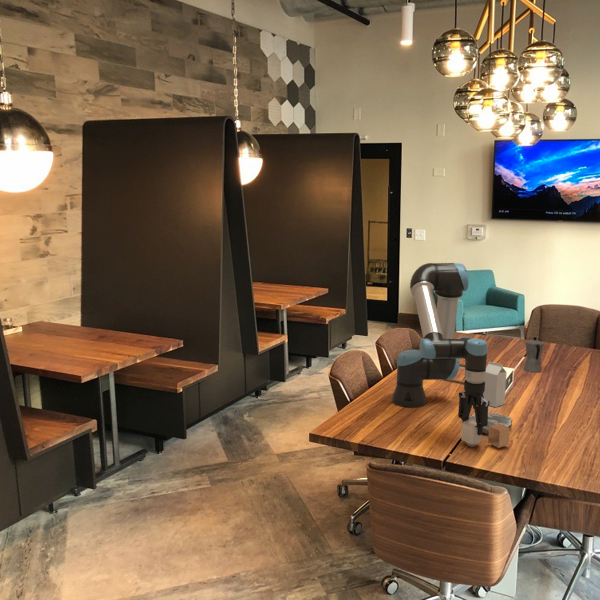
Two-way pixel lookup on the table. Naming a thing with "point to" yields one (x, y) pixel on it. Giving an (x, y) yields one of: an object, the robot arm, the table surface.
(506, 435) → the tan brown block
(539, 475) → the table surface
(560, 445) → the table surface
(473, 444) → the post
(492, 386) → the milk carton
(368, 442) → the table surface
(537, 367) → the coffeepot
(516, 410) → the table surface
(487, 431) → the brain slice
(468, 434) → the cream sugar cube
